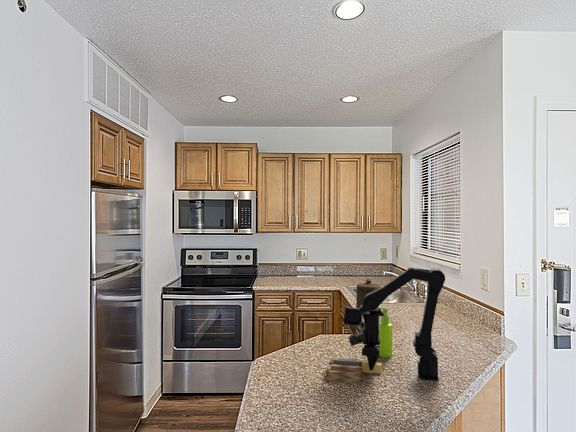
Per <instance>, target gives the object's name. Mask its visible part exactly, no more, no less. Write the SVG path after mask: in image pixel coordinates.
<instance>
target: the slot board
mask: <svg viewBox="0 0 576 432" xmlns="http://www.w3.org/2000/svg"><path fill="white" fill-rule="evenodd" d="M362 364H363V361H362V360H357V366H347V365H338V358H331V359H330V360H329V362H328V365H327V367H326V371H325V380H327V381H328V380H329V381H337V382H346V383H347V382H350V383H358V384H359V383H361V380H362V373H363V372H362Z"/></svg>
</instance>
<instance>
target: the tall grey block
mask: <svg viewBox="0 0 576 432" xmlns="http://www.w3.org/2000/svg"><path fill="white" fill-rule="evenodd" d="M337 359H338V365H347V366H357V361H358V360H357V359H355V358H343V357H342V358H341V357H338V358H337Z"/></svg>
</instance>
